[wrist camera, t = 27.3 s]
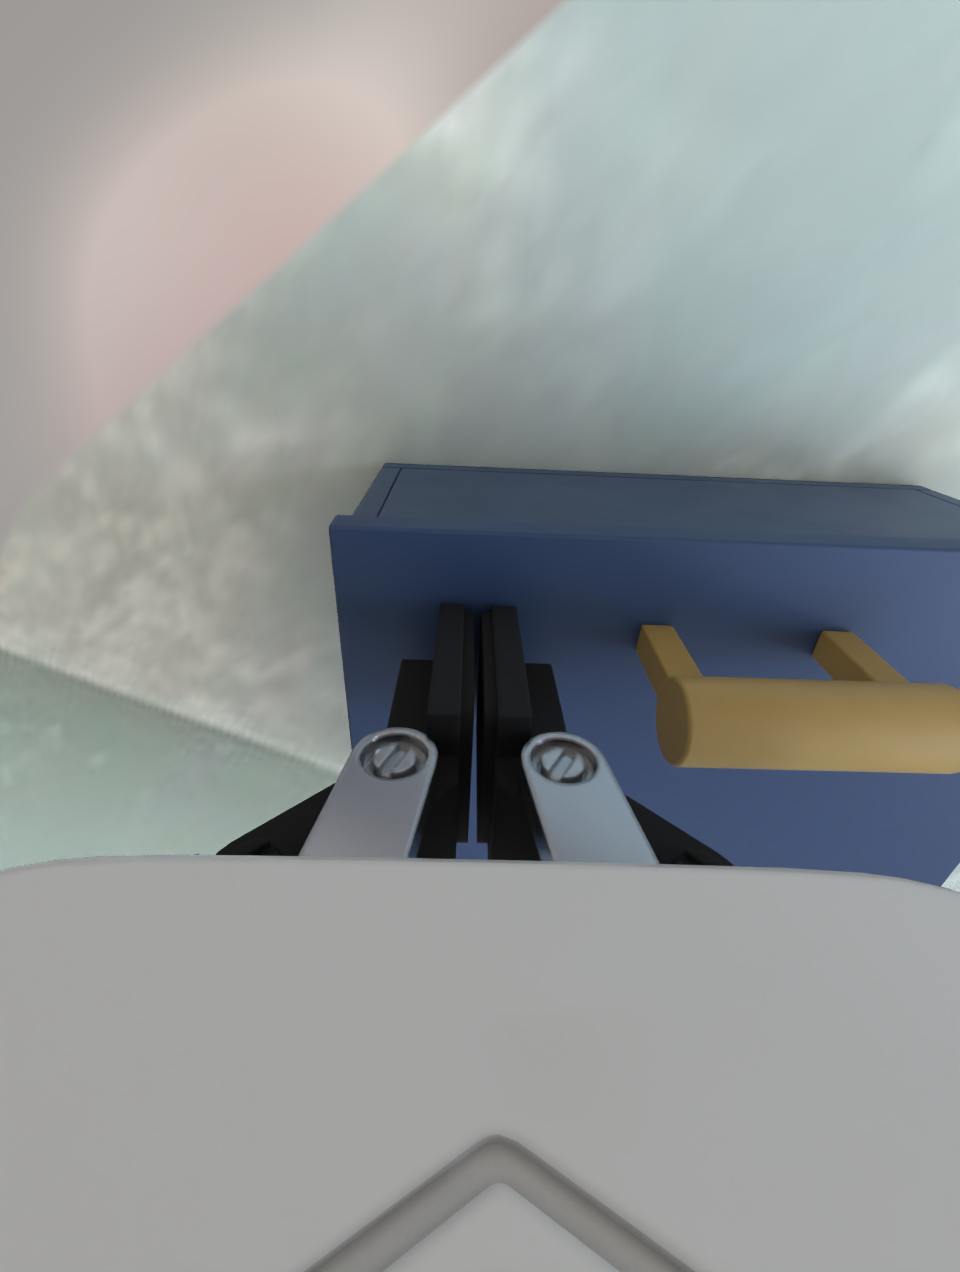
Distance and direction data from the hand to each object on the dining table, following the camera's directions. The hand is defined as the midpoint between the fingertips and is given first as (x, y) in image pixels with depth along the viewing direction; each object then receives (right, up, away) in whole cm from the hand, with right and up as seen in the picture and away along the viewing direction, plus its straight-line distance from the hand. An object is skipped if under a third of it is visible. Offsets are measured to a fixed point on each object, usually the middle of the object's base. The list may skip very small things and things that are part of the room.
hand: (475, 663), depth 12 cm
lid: (+6, -3, +3) cm, 7 cm away
